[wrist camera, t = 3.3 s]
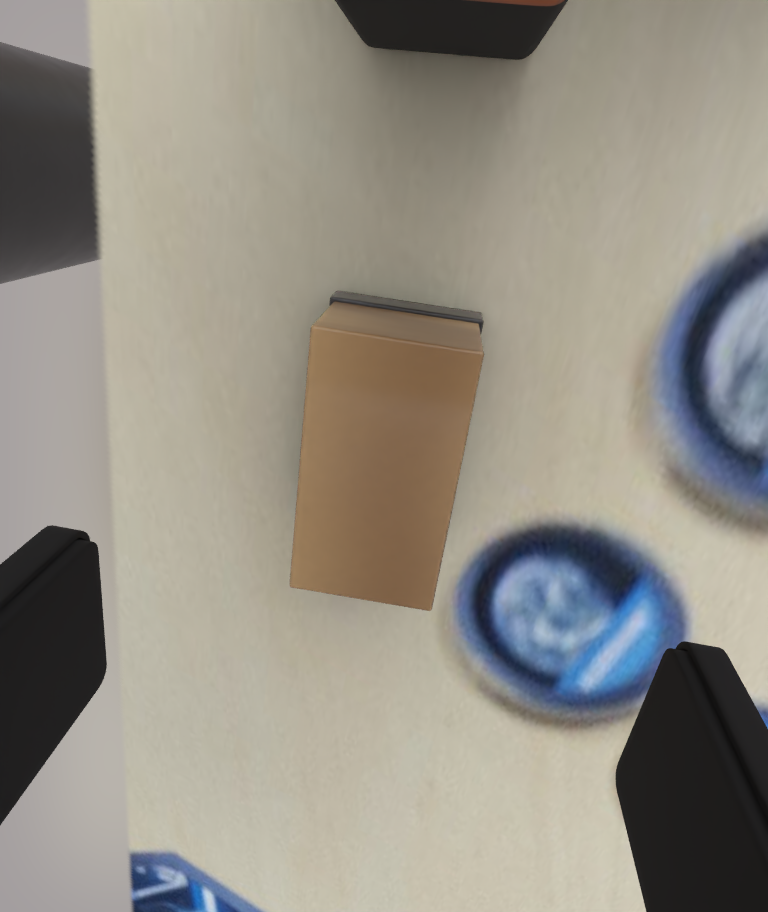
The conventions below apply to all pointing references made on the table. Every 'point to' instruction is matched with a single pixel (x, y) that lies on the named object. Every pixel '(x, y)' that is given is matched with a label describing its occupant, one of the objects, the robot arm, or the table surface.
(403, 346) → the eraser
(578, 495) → the table surface
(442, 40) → the battery
